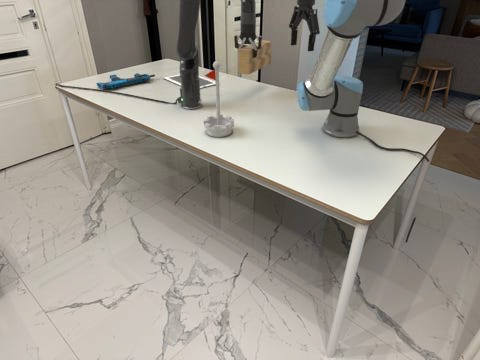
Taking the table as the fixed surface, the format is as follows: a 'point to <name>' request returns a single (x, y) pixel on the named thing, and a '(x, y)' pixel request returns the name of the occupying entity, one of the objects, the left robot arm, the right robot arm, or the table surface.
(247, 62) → the box
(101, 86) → the submachine gun
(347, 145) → the table surface
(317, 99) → the right robot arm
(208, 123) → the flag stand
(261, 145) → the table surface
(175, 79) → the tablet
